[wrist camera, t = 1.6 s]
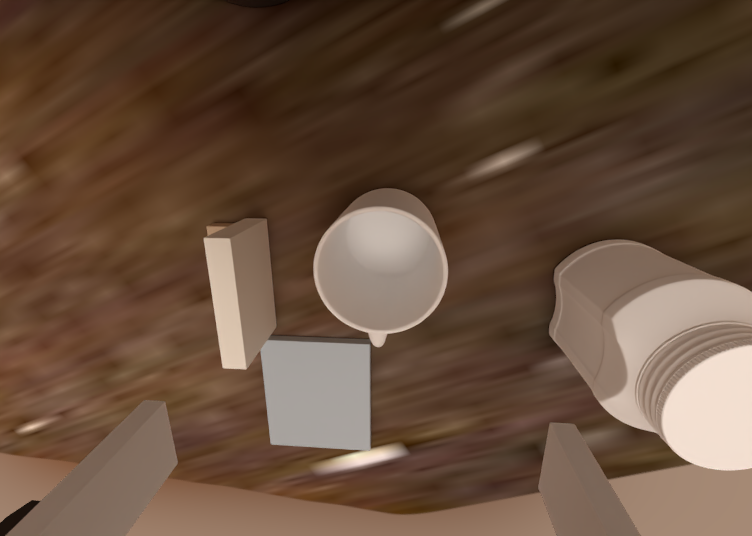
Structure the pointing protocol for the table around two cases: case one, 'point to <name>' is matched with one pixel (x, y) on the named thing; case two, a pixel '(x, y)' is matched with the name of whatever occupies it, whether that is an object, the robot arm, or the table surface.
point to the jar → (661, 347)
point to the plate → (318, 391)
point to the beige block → (241, 288)
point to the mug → (382, 264)
